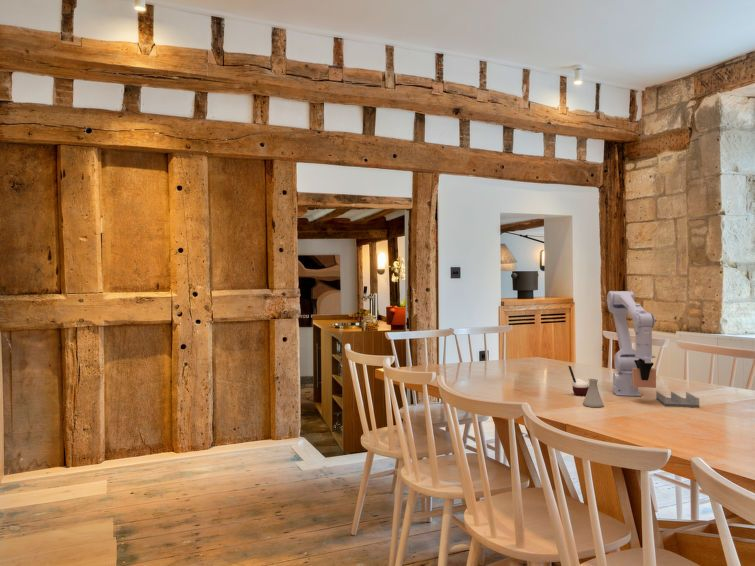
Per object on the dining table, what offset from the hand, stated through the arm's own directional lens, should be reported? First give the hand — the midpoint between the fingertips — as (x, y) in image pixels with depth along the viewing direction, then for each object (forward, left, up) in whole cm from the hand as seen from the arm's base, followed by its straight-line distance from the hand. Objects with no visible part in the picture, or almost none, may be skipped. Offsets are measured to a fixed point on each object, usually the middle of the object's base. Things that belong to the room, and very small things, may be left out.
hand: (643, 379), depth 215 cm
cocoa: (-22, +10, -9) cm, 26 cm away
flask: (-20, -10, -9) cm, 24 cm away
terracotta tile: (0, 0, -3) cm, 3 cm away
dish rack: (+12, 0, -9) cm, 15 cm away
